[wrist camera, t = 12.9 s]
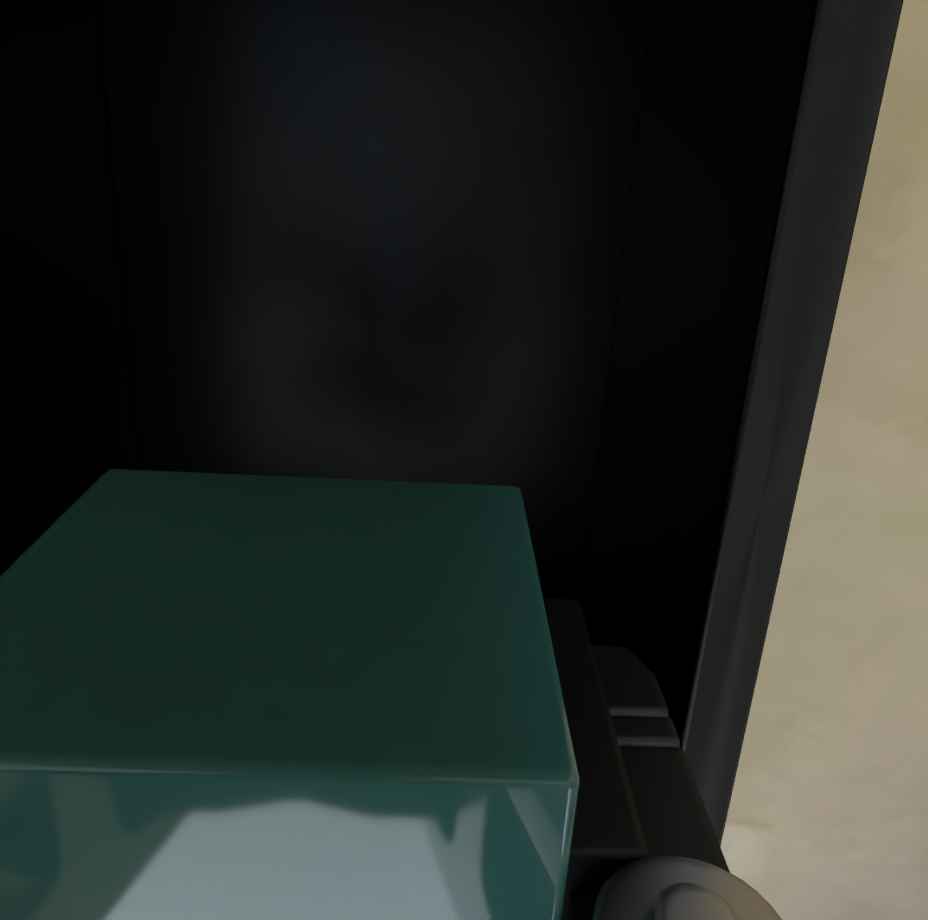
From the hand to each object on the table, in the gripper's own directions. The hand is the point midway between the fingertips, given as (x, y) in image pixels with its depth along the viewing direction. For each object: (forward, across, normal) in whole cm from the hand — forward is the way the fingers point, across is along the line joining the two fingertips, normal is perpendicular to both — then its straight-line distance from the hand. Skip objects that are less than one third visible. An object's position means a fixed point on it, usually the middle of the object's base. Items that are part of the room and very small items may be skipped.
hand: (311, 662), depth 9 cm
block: (0, 0, 0) cm, 0 cm away
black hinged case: (+8, 0, -2) cm, 9 cm away
